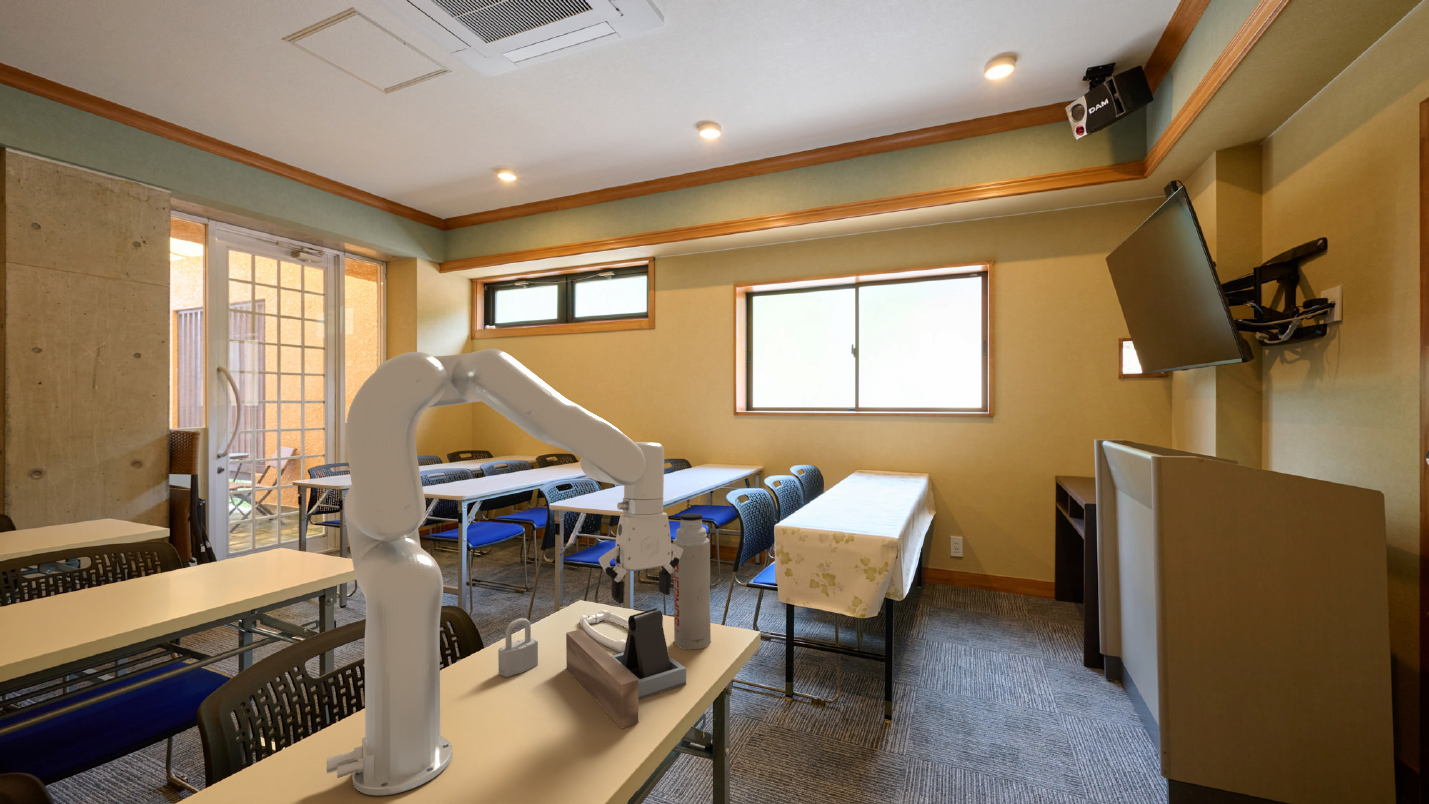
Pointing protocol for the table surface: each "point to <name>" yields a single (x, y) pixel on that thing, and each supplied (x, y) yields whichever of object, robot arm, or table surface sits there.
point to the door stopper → (646, 645)
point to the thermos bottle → (692, 585)
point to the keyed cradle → (658, 679)
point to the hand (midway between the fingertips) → (641, 597)
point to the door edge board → (603, 678)
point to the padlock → (517, 651)
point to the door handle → (600, 637)
